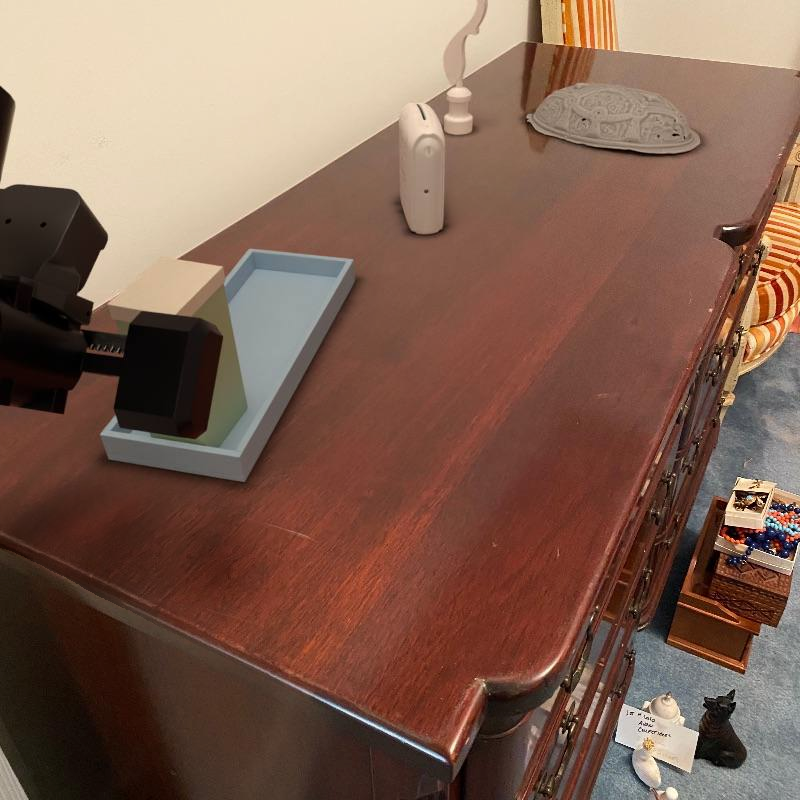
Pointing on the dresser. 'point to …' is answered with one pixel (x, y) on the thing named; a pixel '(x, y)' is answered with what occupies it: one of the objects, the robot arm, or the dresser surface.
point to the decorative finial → (460, 75)
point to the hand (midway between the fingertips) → (129, 379)
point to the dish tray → (255, 358)
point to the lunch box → (195, 297)
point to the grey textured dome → (614, 119)
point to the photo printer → (422, 168)
